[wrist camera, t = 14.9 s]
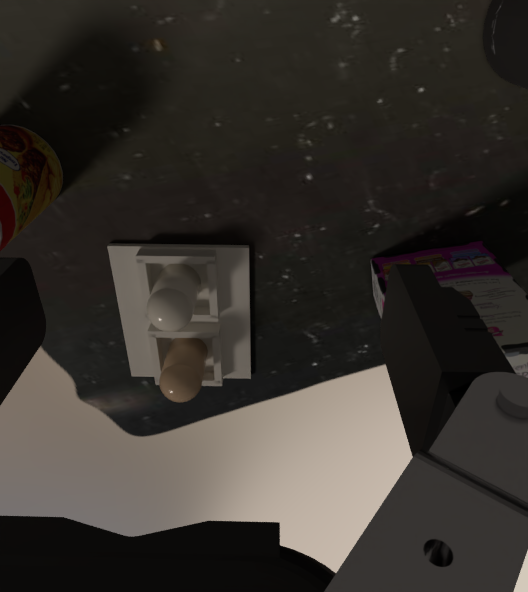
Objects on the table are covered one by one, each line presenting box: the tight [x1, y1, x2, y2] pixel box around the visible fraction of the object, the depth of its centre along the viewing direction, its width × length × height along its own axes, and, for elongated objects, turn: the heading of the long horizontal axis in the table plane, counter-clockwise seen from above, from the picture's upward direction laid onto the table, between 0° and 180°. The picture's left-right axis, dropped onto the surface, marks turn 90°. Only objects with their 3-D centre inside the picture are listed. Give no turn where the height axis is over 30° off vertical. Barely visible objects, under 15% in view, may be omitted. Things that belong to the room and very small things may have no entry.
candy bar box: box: [371, 241, 528, 378], centre depth 42 cm, size 11×5×16 cm, turn 101°
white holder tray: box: [107, 243, 251, 386], centre depth 52 cm, size 14×17×2 cm
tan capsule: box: [159, 338, 208, 402], centre depth 52 cm, size 4×4×7 cm
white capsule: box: [146, 264, 201, 332], centre depth 47 cm, size 4×4×7 cm
